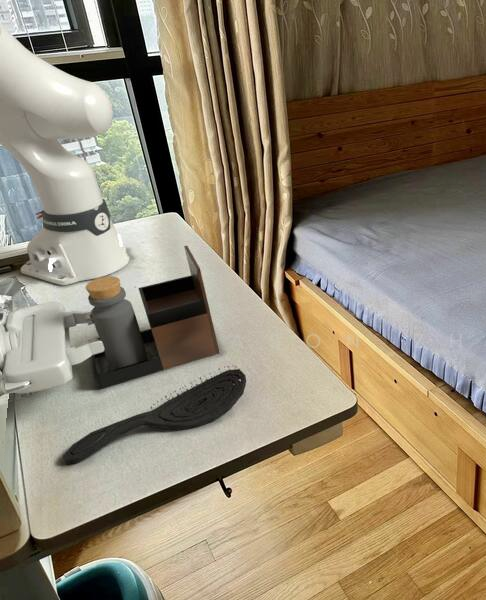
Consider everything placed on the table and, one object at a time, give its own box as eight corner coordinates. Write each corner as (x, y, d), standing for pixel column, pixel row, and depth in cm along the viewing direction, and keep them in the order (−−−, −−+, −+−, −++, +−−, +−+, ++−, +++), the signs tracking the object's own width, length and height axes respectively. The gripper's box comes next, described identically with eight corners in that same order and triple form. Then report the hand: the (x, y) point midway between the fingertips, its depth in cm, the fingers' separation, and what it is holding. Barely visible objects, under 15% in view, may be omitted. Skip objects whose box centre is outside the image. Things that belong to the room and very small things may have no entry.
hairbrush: (52, 428, 72) (232, 354, 84) (63, 448, 74) (237, 372, 86) (60, 467, 66) (253, 381, 78) (72, 487, 68) (258, 401, 80)
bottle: (134, 375, 86) (107, 294, 79) (102, 371, 88) (72, 290, 80) (156, 354, 91) (131, 275, 84) (125, 351, 92) (98, 272, 85)
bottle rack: (98, 389, 84) (64, 300, 76) (94, 357, 91) (62, 272, 83) (219, 353, 91) (199, 268, 83) (206, 325, 99) (187, 245, 91)
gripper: (-19, 377, 70) (99, 345, 75) (-8, 307, 85) (90, 285, 91) (0, 415, 73) (112, 381, 79) (8, 340, 88) (101, 317, 94)
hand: (100, 329), depth 85 cm, fingers open, 8 cm apart
